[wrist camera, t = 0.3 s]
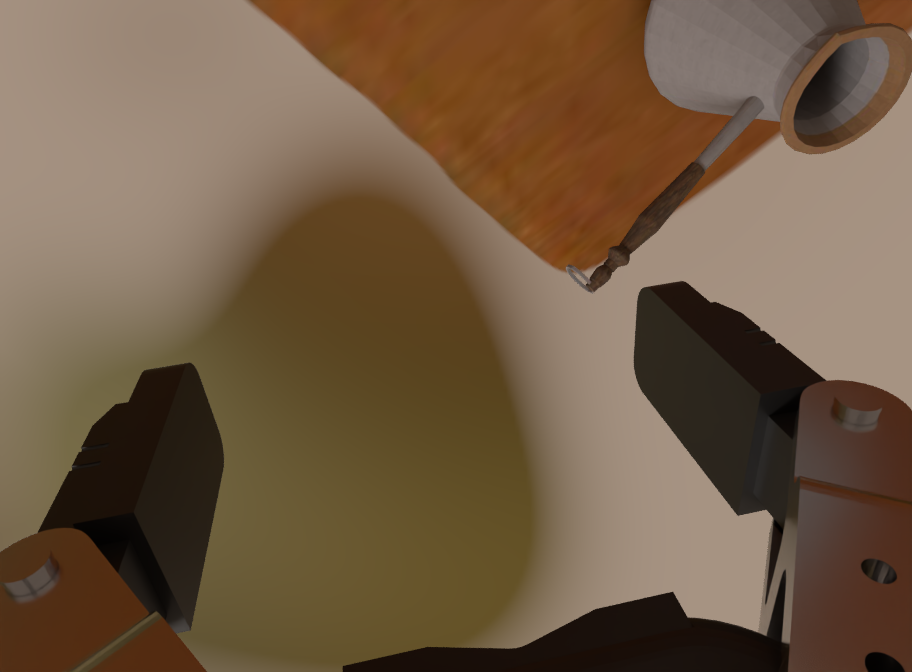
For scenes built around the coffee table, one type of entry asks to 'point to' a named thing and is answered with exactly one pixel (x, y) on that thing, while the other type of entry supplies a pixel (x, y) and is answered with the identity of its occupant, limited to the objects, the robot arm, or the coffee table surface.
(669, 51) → the coffee pot
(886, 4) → the coffee table surface
